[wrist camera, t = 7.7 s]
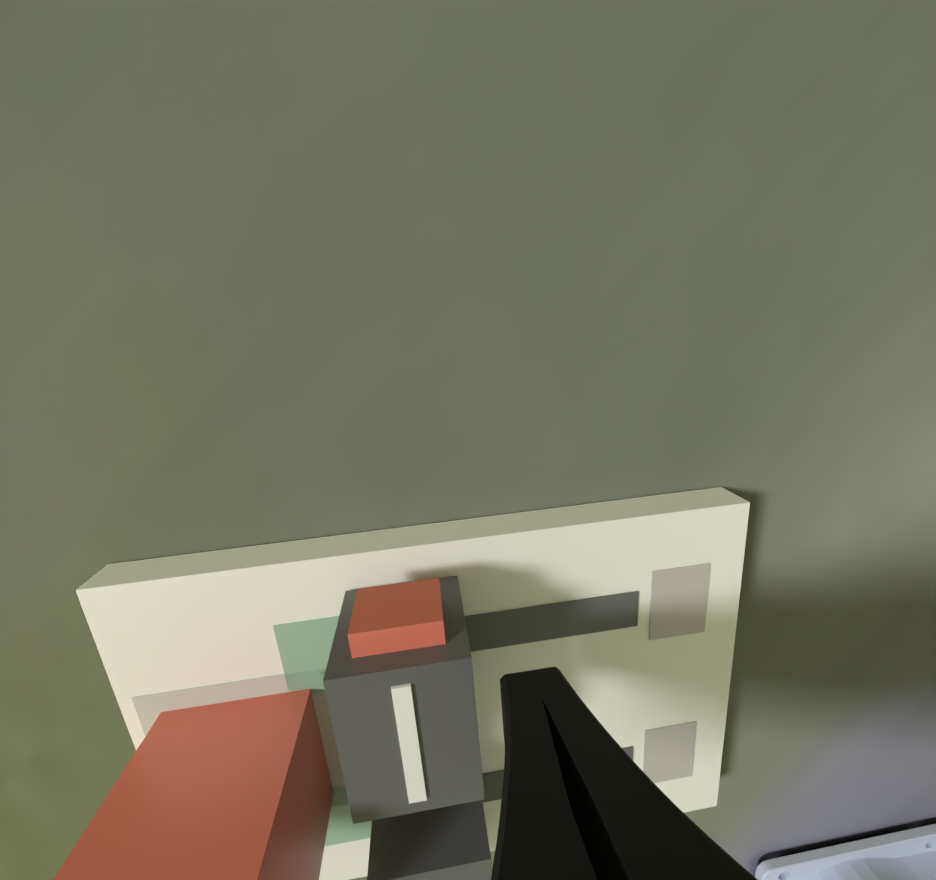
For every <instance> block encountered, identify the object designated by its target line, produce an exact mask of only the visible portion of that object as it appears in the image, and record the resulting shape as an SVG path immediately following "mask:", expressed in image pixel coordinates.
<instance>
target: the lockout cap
mask: <svg viewBox="0 0 936 880" xmlns="http://www.w3.org/2000/svg"><path fill="white" fill-rule="evenodd" d="M333 793H334V792H333V788H332V783H331V779H330V774H329V770H328V765H327V760H326V756H325V751H324V747H323V742H322V738H321V733H320V729H319V724H318V720H317V715H316V711H315V706H314V702H313V697H312V693H311V689H305V690H298V691H292V692H286V693H279V694H273V695H267V696H260V697H254V698H248V699H241V700H235V701H229V702H222V703H216V704H210V705H203V706H197V707H191V708H184V709H178V710H172V711H165V712H161V713H160V715H159V716H158V718H157V719H156V721H155V722H154V724H153V725H152V727H151V729H150V730H149V732H148V733H147V735H146V736H145V738H144V739H143V741H142V743H141V744H140V746H139V747H138V749H137V750H136V752H135V753H134V755H133V757H132V758H131V760H130V761H129V763H128V764H127V766H126V767H125V769H124V770H123V772H122V774H121V775H120V777H119V778H118V780H117V781H116V783H115V784H114V786H113V788H112V789H111V791H110V792H109V794H108V795H107V797H106V798H105V800H104V802H103V803H102V805H101V806H100V808H99V809H98V811H97V812H96V814H95V815H94V817H93V819H92V820H91V822H90V823H89V825H88V826H87V828H86V829H85V831H84V833H83V834H82V836H81V837H80V839H79V840H78V842H77V843H76V845H75V847H74V848H73V850H72V851H71V853H70V854H69V856H68V857H67V859H66V860H65V862H64V864H63V865H62V867H61V868H60V870H59V871H58V873H57V874H56V876H55V878H54V879H53V880H319V876H320V870H321V864H322V858H323V852H324V846H325V840H326V834H327V828H328V822H329V817H330V811H331V805H332V799H333Z"/></svg>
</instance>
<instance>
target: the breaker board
mask: <svg viewBox="0 0 936 880" xmlns="http://www.w3.org/2000/svg"><path fill="white" fill-rule="evenodd" d="M749 507H750V502H748V501H747V500H745V499H743V498H741V497H739V496H737V495H735V494H734V493H732V492H730V491H728V490H726V489H724V488H723V487H717V488H709V489H701V490H694V491H686V492H678V493H670V494H662V495H654V496H646V497H638V498H630V499H622V500H614V501H606V502H598V503H590V504H582V505H574V506H566V507H558V508H550V509H542V510H534V511H527V512H519V513H511V514H503V515H495V516H487V517H479V518H471V519H463V520H455V521H447V522H439V523H431V524H423V525H415V526H407V527H399V528H391V529H383V530H375V531H368V532H360V533H352V534H344V535H336V536H328V537H320V538H312V539H304V540H296V541H288V542H280V543H272V544H264V545H256V546H248V547H240V548H232V549H224V550H216V551H208V552H201V553H193V554H185V555H177V556H169V557H161V558H153V559H145V560H137V561H129V562H121V563H113V564H108V565H107V566H105V567H104V568H103V569H102V570H100V571H99V572H98V573H97V574H95V575H94V576H93V577H91V578H90V579H89V580H88V581H86V582H85V583H84V584H83V585H81V586H80V587H79V588H78V589H76V593H77V595H78V598H79V601H80V603H81V606H82V609H83V611H84V614H85V616H86V619H87V622H88V624H89V627H90V630H91V632H92V635H93V638H94V640H95V643H96V646H97V648H98V651H99V653H100V656H101V659H102V661H103V664H104V667H105V669H106V672H107V675H108V677H109V680H110V683H111V685H112V688H113V691H114V693H115V696H116V698H117V701H118V704H119V706H120V709H121V712H122V714H123V717H124V720H125V722H126V725H127V728H128V730H129V733H130V735H131V738H132V741H133V743H134V746H135V749H136V750H137V749H138V747H139V746H140V744H141V743H142V741H143V739H144V738H145V736H146V735H147V733H148V732H149V730H150V729H151V727H152V725H153V724H154V722H155V721H156V719H157V718H158V716H159V715H160V713H161V712H165V711H172V710H178V709H184V708H191V707H197V706H203V705H210V704H216V703H222V702H229V701H235V700H241V699H248V698H254V697H260V696H267V695H273V694H279V693H286V692H292V691H298V690H305V689H311V693H312V697H313V702H314V706H315V711H316V715H317V720H318V724H319V729H320V733H321V738H322V742H323V747H324V751H325V756H326V760H327V765H328V770H329V774H330V779H331V783H332V788H333V792H334V793H333V799H332V805H331V811H330V817H329V822H328V828H327V834H326V840H325V846H324V852H323V858H322V864H321V870H320V876H319V880H350V879H355V878H360V877H365V876H367V874H368V862H369V850H370V838H371V826H372V821H367V822H362V823H357V824H353V821H352V816H351V812H350V807H349V802H348V797H347V793H346V788H345V783H344V778H343V774H342V769H341V764H340V759H339V755H338V750H337V745H336V740H335V736H334V731H333V726H332V721H331V717H330V712H329V707H328V702H327V698H326V693H325V688H324V683H323V679H324V675H325V671H326V667H327V663H328V659H329V655H330V651H331V647H332V643H333V639H334V635H335V631H336V627H337V623H338V619H339V615H340V611H341V607H342V603H343V599H344V595H345V591H349V590H356V589H360V588H368V587H375V586H382V585H389V584H397V583H404V582H411V581H418V580H426V579H433V578H443V577H451V576H458V581H459V587H460V593H461V599H462V604H463V610H464V616H465V622H466V628H467V633H468V639H469V645H470V651H471V657H472V667H473V678H474V689H475V699H476V710H477V721H478V732H479V743H480V754H481V765H482V776H483V787H484V798H485V799H484V800H483V807H484V814H485V821H486V828H487V835H488V842H489V849H490V851H494V850H496V842H497V835H498V827H499V819H500V809H501V798H502V788H503V777H504V760H505V742H504V731H503V717H502V703H501V690H500V679H501V677H502V676H503V675H504V674H511V673H517V672H523V671H530V670H536V669H542V668H548V667H557V668H558V669H559V670H560V671H561V673H562V674H563V675H564V677H565V678H566V680H567V681H568V682H569V684H570V685H571V686H572V688H573V689H574V690H575V692H576V693H577V694H578V696H579V697H580V698H581V700H582V701H583V702H584V704H585V705H586V706H587V707H588V709H589V710H590V711H591V712H592V714H593V715H594V716H595V717H596V719H597V720H598V721H599V722H600V723H601V725H602V726H603V727H604V728H605V729H606V730H607V732H608V733H609V734H610V735H611V736H612V737H613V739H614V740H615V741H616V742H617V743H618V744H619V745H620V747H621V748H622V749H623V750H624V751H625V752H626V754H627V755H628V756H629V757H630V758H631V759H632V760H633V761H634V762H635V763H636V765H637V766H638V767H639V768H640V769H641V770H642V771H643V772H644V773H645V774H646V775H647V776H648V777H649V778H650V779H651V780H652V782H653V783H654V784H655V785H656V786H657V787H658V788H659V789H660V790H661V791H662V792H663V793H664V794H665V795H666V796H667V797H668V798H669V799H670V800H671V801H672V802H673V803H674V804H675V805H676V806H677V807H678V808H679V809H680V810H681V811H682V812H683V813H684V812H689V811H694V810H699V809H704V808H709V807H714V806H717V797H718V788H719V779H720V770H721V761H722V752H723V743H724V734H725V725H726V715H727V706H728V697H729V688H730V679H731V670H732V661H733V652H734V643H735V634H736V625H737V616H738V607H739V598H740V589H741V580H742V571H743V561H744V552H745V543H746V534H747V525H748V516H749Z"/></svg>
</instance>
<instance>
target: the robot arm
mask: <svg viewBox="0 0 936 880" xmlns="http://www.w3.org/2000/svg"><path fill="white" fill-rule="evenodd" d="M500 690H501V703H502V717H503V731H504V742H505V760H504V777H503V788H502V798H501V809H500V819H499V827H498V835H497V842H496V850H495V856H494V863H493V870H492V876H491V880H936V823H935V824H930V825H925V826H921V827H916V828H912V829H907V830H902V831H898V832H893V833H888V834H884V835H879V836H874V837H870V838H865V839H861V840H856V841H851V842H847V843H842V844H837V845H833V846H828V847H823V848H819V849H814V850H810V851H805V852H800V853H796V854H791V855H786V856H782V857H777V858H772V859H768V860H765V861H762V862H761V863H760V864H759V865H758V866H757V868H756V873H755V877H754V876H753V875H752V874H750V873H749V872H748V871H747V870H746V869H744V868H743V867H742V866H741V865H740V864H739V863H738V862H736V861H735V860H734V859H733V858H732V857H731V856H730V855H729V854H727V853H726V852H725V851H724V850H723V849H722V848H721V847H720V846H719V845H717V844H716V843H715V842H714V841H713V840H712V839H711V838H710V837H709V836H707V835H706V834H705V833H704V832H703V831H702V830H701V829H700V828H699V827H698V826H697V825H696V824H695V823H694V822H693V821H692V820H690V819H689V818H688V817H687V816H686V815H685V814H684V813H683V812H682V811H681V810H680V809H679V808H678V807H677V806H676V805H675V804H674V803H673V802H672V801H671V800H670V799H669V798H668V797H667V796H666V795H665V794H664V793H663V792H662V791H661V790H660V789H659V788H658V787H657V786H656V785H655V784H654V783H653V782H652V780H651V779H650V778H649V777H648V776H647V775H646V774H645V773H644V772H643V771H642V770H641V769H640V768H639V767H638V766H637V765H636V763H635V762H634V761H633V760H632V759H631V758H630V757H629V756H628V755H627V754H626V752H625V751H624V750H623V749H622V748H621V747H620V745H619V744H618V743H617V742H616V741H615V740H614V739H613V737H612V736H611V735H610V734H609V733H608V732H607V730H606V729H605V728H604V727H603V726H602V725H601V723H600V722H599V721H598V720H597V719H596V717H595V716H594V715H593V714H592V712H591V711H590V710H589V709H588V707H587V706H586V705H585V704H584V702H583V701H582V700H581V698H580V697H579V696H578V694H577V693H576V692H575V690H574V689H573V688H572V686H571V685H570V684H569V682H568V681H567V680H566V678H565V677H564V675H563V674H562V673H561V671H560V670H559V669H558V668H557V667H548V668H542V669H536V670H530V671H523V672H517V673H511V674H504V675H503V676H502V677H501V679H500Z"/></svg>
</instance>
